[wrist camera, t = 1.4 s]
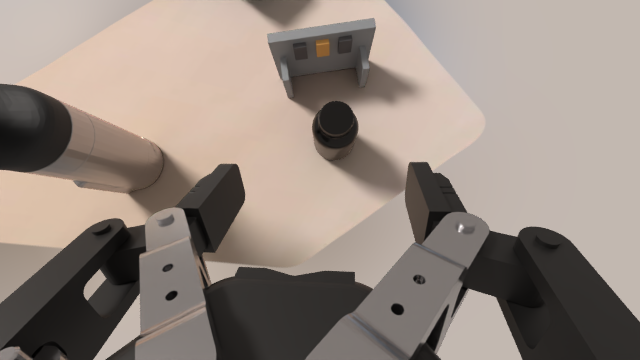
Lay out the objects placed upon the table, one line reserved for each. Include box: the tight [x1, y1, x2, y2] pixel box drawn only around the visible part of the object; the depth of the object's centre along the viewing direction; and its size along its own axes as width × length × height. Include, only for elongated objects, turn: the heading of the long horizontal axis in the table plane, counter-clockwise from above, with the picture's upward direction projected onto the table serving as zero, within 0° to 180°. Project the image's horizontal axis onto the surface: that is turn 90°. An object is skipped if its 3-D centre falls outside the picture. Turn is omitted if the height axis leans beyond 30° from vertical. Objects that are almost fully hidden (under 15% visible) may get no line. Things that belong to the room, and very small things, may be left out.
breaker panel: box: [267, 18, 376, 98], centre depth 44 cm, size 6×16×10 cm, turn 98°
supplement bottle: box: [312, 101, 358, 160], centre depth 41 cm, size 7×7×12 cm
